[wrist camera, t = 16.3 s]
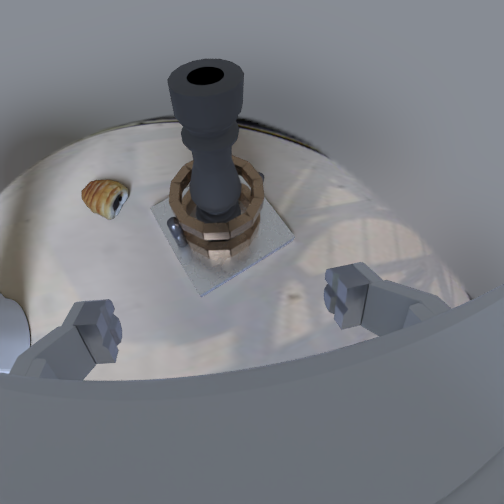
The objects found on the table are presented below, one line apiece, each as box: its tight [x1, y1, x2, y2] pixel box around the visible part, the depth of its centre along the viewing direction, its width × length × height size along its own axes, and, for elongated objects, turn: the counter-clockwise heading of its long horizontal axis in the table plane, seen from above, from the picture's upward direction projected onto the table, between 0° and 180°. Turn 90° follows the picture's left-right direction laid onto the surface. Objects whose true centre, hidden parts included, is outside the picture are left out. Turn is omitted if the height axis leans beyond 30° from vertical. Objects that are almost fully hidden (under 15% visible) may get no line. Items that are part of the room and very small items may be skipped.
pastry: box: [82, 180, 128, 220], centre depth 41 cm, size 9×7×4 cm
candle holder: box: [168, 59, 244, 242], centre depth 29 cm, size 6×6×25 cm
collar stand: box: [150, 155, 295, 297], centre depth 37 cm, size 16×16×10 cm
